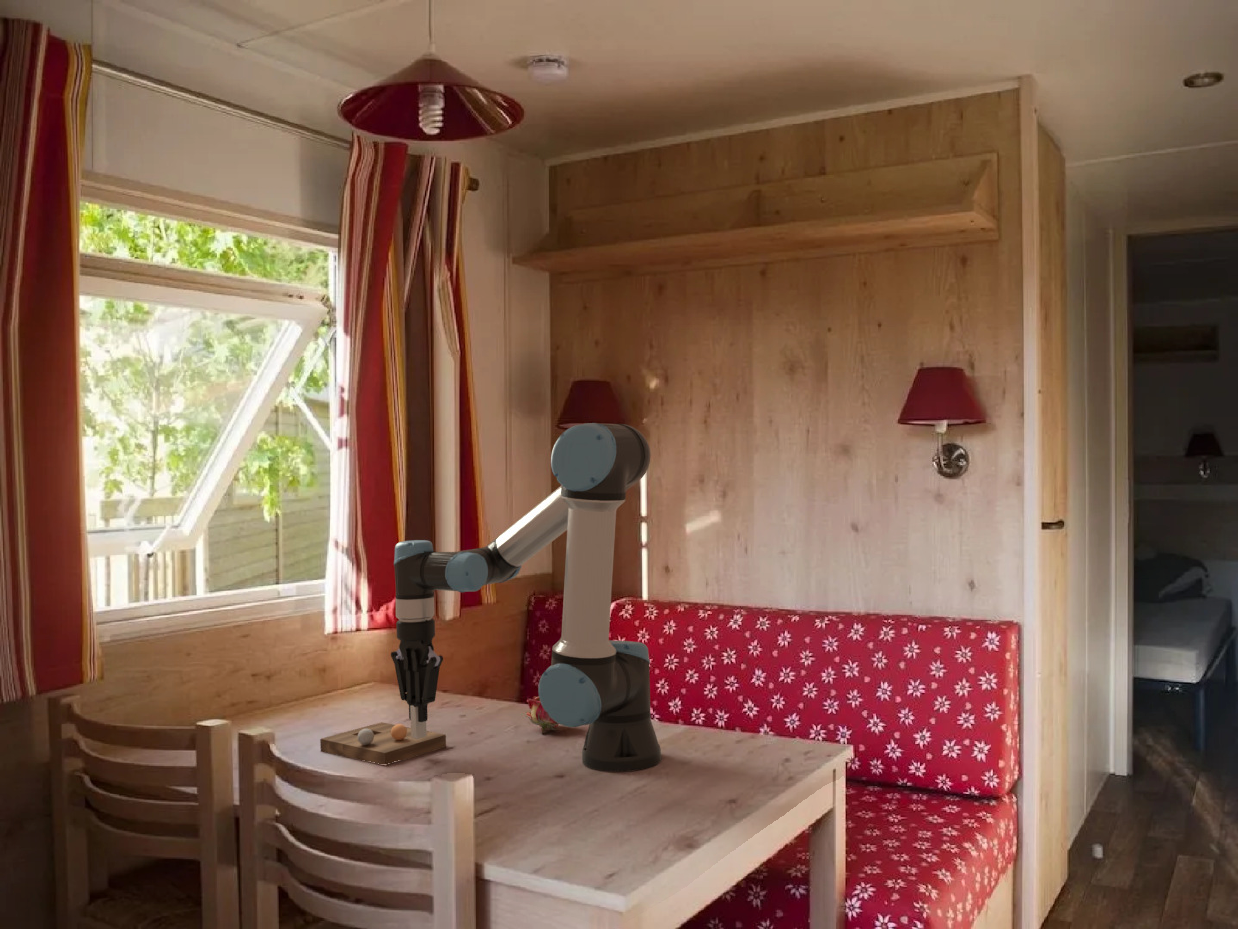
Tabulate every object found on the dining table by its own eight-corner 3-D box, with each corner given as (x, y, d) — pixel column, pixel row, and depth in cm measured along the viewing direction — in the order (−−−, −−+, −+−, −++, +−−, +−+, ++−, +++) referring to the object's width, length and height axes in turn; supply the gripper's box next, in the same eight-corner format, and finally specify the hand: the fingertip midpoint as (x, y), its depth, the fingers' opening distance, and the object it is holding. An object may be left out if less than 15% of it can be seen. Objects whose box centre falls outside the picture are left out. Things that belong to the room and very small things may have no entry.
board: (446, 747, 227) (445, 734, 226) (385, 765, 214) (384, 753, 214) (381, 733, 239) (381, 722, 239) (320, 751, 226) (320, 738, 226)
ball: (410, 739, 224) (410, 723, 223) (398, 743, 221) (397, 727, 221) (400, 737, 225) (399, 721, 225) (387, 740, 223) (387, 725, 223)
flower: (564, 730, 231) (570, 694, 235) (520, 722, 231) (528, 686, 235) (562, 746, 239) (568, 711, 243) (520, 738, 239) (527, 703, 243)
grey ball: (377, 744, 221) (377, 728, 221) (364, 747, 218) (364, 731, 218) (367, 742, 223) (366, 726, 223) (354, 745, 220) (353, 729, 220)
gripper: (452, 618, 218) (455, 737, 219) (407, 613, 226) (411, 728, 227) (423, 624, 212) (427, 746, 213) (379, 619, 220) (382, 737, 221)
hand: (418, 737), depth 220 cm, fingers closed
